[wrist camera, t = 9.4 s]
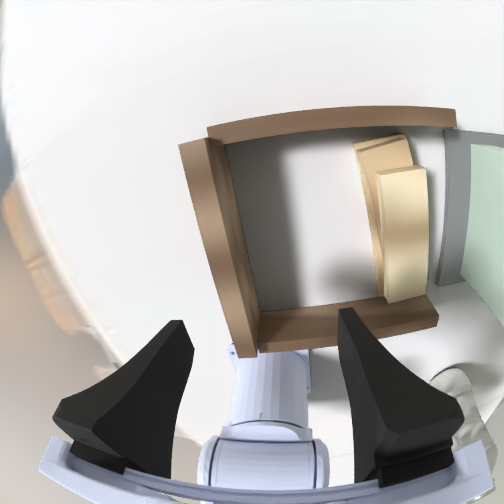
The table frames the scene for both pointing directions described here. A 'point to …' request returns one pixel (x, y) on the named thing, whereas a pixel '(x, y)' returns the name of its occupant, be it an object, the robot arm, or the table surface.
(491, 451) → the plastic bottle
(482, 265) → the pale green block
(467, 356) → the table surface
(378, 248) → the offcuts
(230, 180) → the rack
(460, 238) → the mat
